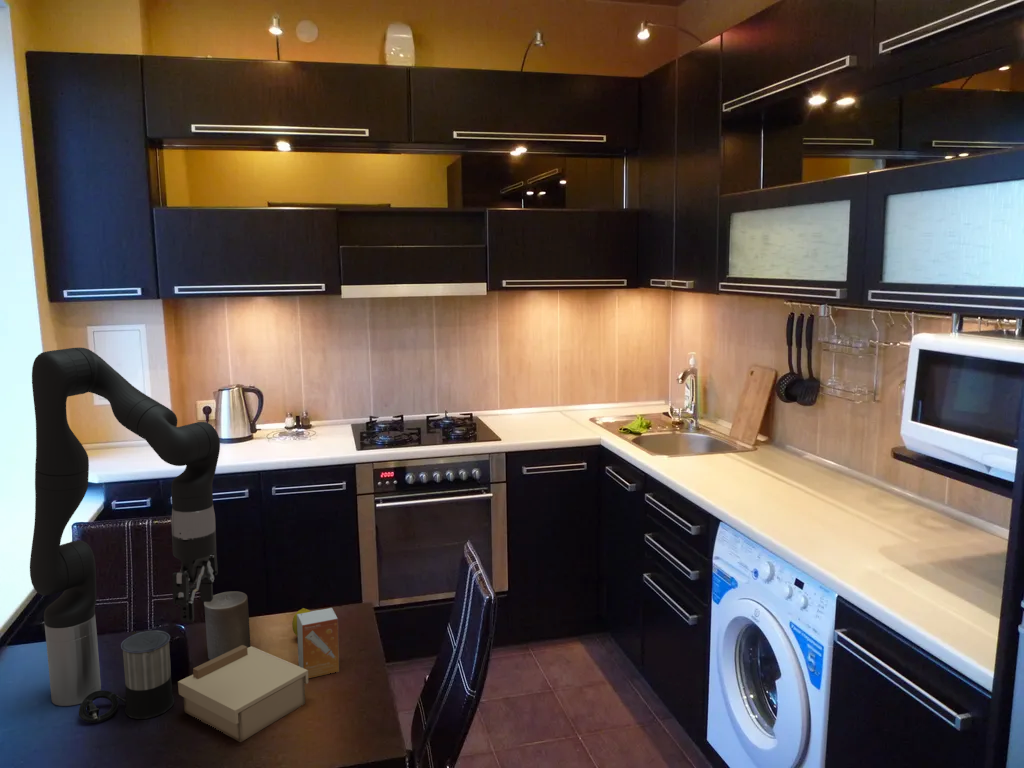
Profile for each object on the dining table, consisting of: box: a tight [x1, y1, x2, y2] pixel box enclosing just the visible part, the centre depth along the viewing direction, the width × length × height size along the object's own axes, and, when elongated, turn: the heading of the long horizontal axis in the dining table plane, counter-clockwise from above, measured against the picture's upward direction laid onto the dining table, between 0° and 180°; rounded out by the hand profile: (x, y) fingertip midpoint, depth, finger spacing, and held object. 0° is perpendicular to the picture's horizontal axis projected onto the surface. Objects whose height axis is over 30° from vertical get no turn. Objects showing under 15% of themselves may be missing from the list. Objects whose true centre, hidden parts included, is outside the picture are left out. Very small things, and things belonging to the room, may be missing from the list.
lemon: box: [291, 607, 312, 637], centre depth 186 cm, size 6×6×8 cm
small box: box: [297, 607, 340, 679], centre depth 171 cm, size 8×6×13 cm
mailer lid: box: [177, 645, 309, 724], centre depth 156 cm, size 18×18×5 cm
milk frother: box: [78, 630, 175, 724], centre depth 154 cm, size 14×16×15 cm
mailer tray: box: [183, 676, 306, 743], centre depth 156 cm, size 18×16×6 cm
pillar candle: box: [203, 590, 251, 661], centre depth 178 cm, size 10×10×15 cm
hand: (197, 611), depth 144 cm, fingers open, 8 cm apart
